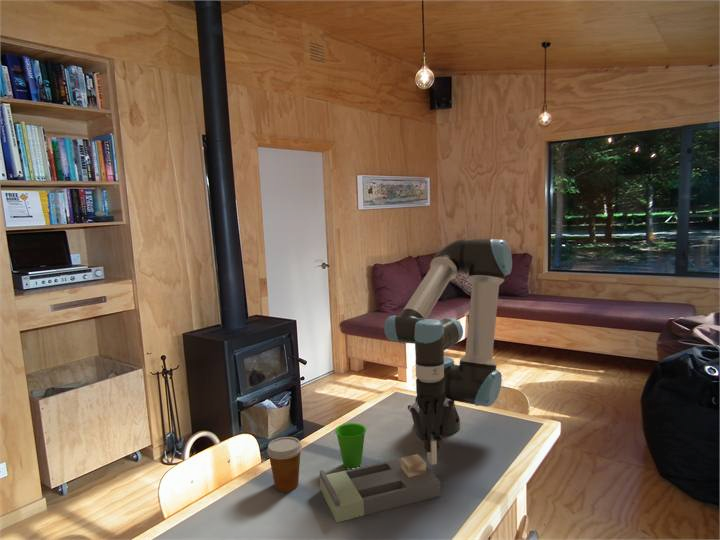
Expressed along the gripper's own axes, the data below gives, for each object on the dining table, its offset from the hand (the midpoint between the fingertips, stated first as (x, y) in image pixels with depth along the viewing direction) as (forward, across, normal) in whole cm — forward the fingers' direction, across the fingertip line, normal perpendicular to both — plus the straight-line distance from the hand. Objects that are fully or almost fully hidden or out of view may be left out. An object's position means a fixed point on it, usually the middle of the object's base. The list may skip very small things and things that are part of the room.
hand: (432, 461), depth 135 cm
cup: (+6, -17, +17) cm, 25 cm away
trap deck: (+5, -16, 0) cm, 17 cm away
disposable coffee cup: (+6, -38, +14) cm, 40 cm away
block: (+1, -6, 0) cm, 6 cm away
